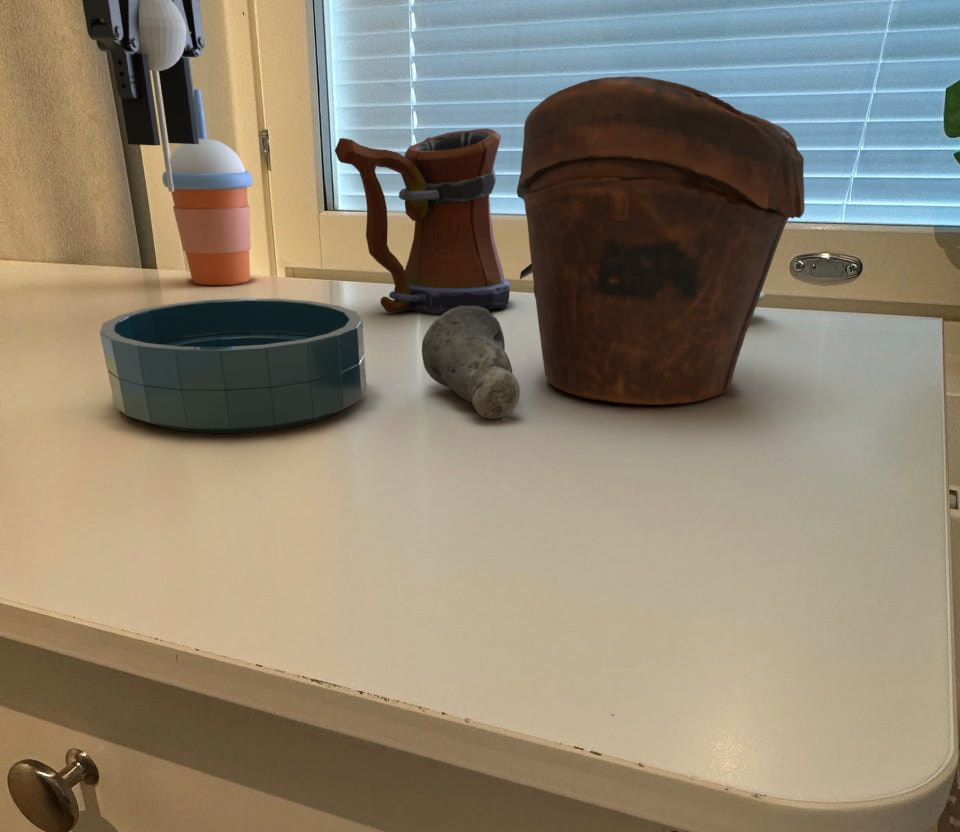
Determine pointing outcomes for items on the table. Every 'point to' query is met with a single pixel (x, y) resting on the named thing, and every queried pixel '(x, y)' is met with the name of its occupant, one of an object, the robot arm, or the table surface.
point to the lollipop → (161, 51)
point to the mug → (437, 221)
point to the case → (650, 235)
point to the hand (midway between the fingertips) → (164, 143)
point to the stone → (472, 360)
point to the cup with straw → (211, 207)
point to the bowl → (235, 363)
